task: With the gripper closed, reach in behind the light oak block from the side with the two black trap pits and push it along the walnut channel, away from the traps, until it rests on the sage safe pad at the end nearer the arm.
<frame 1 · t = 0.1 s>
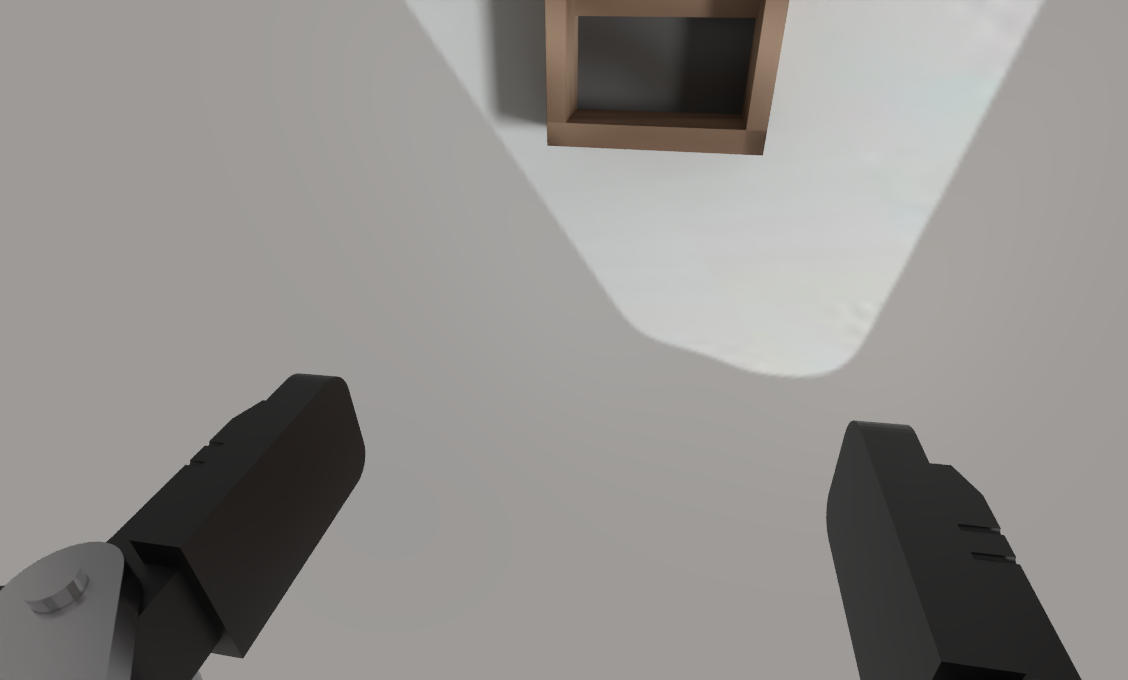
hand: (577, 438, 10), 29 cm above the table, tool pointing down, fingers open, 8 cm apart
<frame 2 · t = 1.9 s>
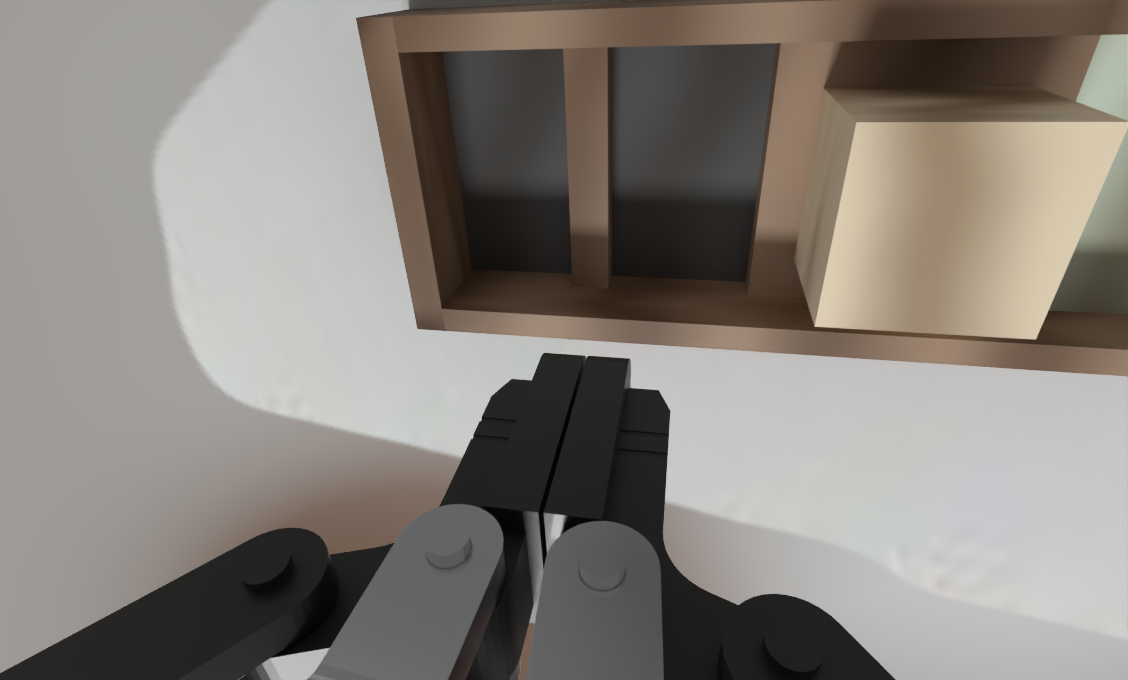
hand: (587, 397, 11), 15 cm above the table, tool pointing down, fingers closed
oak block: (901, 181, 20), point 1 cm above the table, touching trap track
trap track: (830, 168, 22), on the table
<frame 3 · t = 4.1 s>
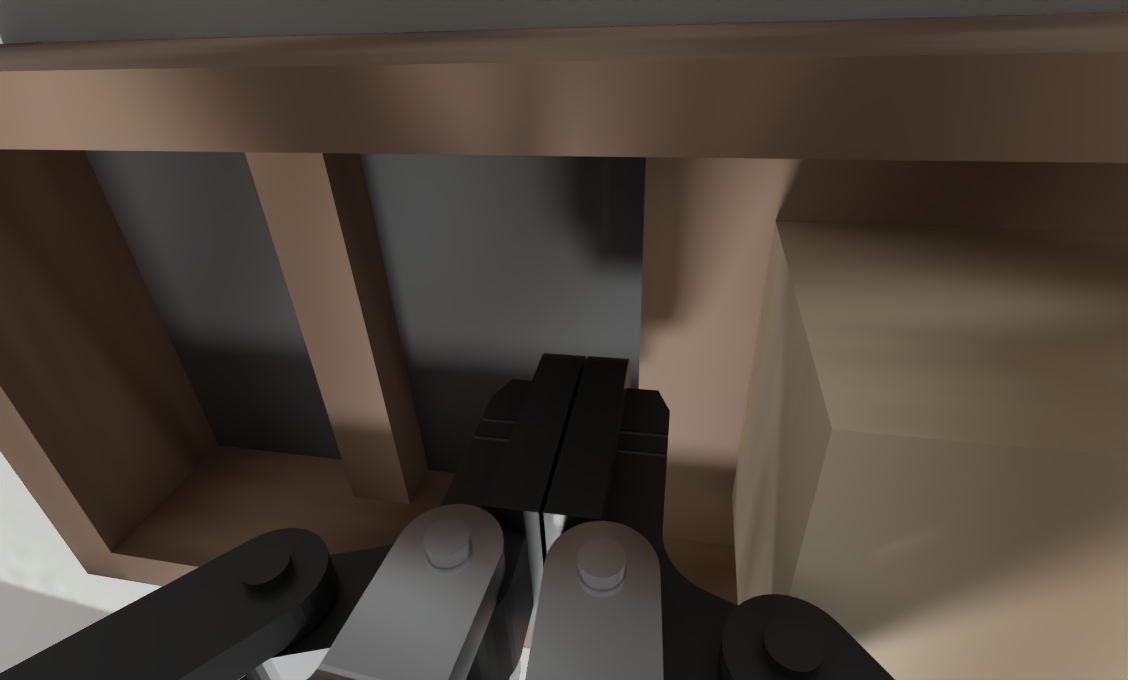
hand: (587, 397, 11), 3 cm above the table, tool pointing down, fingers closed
oak block: (930, 392, 10), point 2 cm above the table, touching gripper
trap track: (770, 334, 12), on the table
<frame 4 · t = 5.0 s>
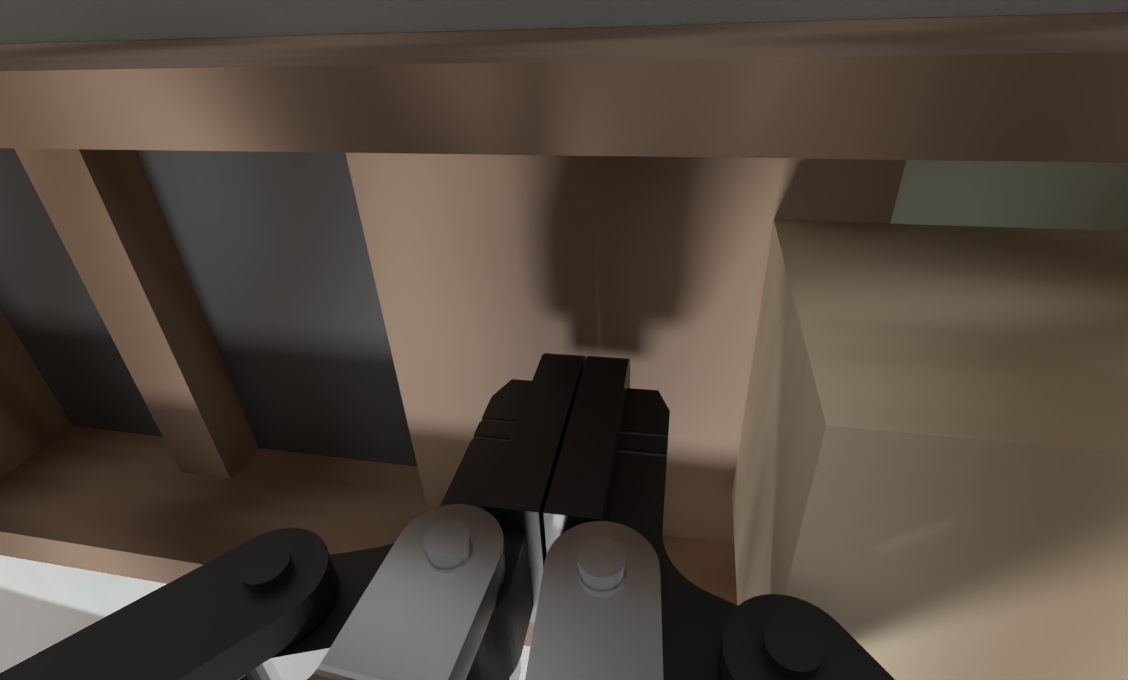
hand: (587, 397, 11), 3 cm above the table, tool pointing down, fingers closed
oak block: (929, 390, 10), point 2 cm above the table, touching gripper
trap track: (526, 318, 13), on the table
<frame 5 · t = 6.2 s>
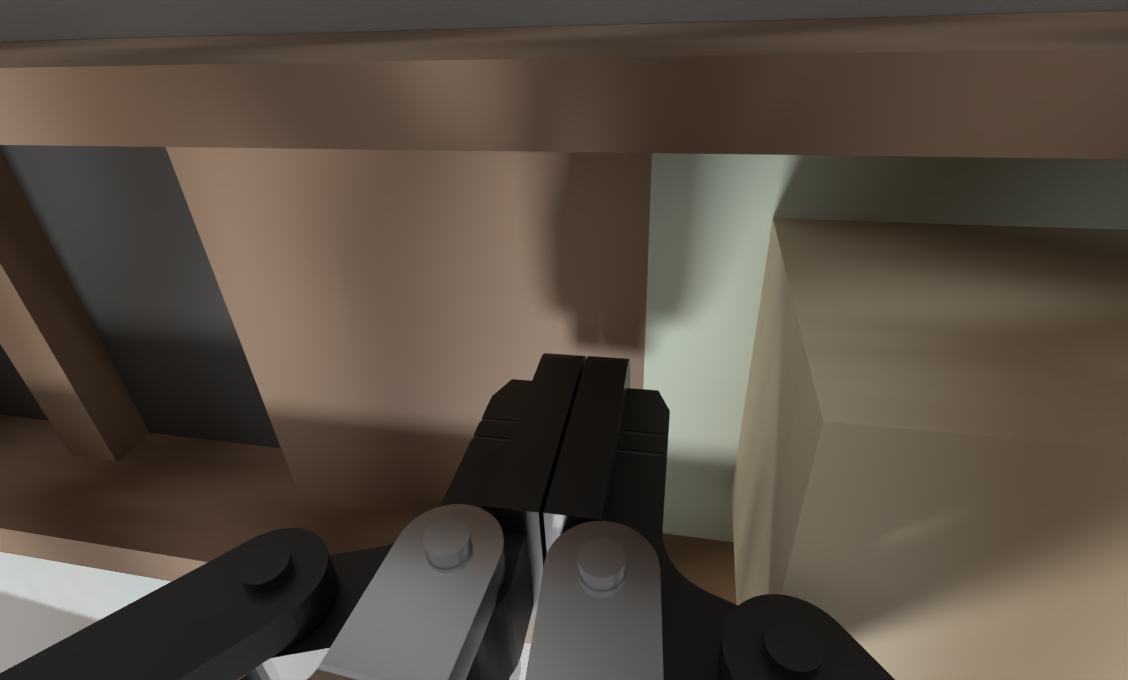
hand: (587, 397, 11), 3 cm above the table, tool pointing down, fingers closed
oak block: (928, 388, 10), point 1 cm above the table, touching gripper, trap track
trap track: (374, 305, 14), on the table
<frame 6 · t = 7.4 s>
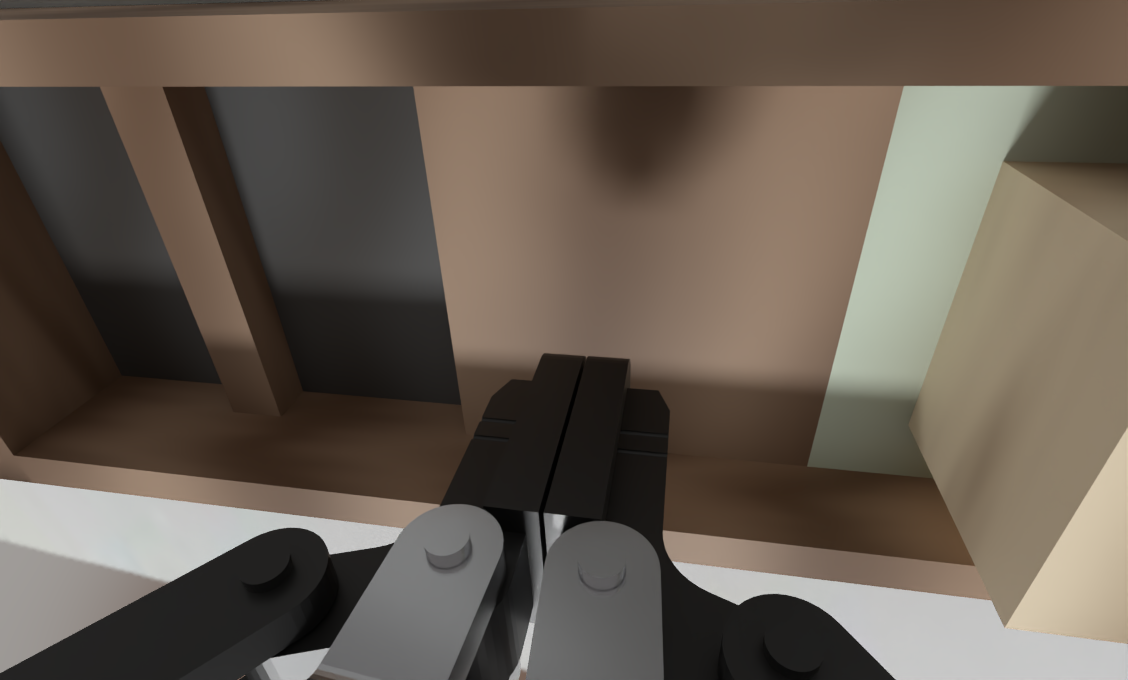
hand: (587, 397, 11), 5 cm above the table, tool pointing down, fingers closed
oak block: (1117, 319, 12), point 1 cm above the table, touching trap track
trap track: (561, 259, 15), on the table
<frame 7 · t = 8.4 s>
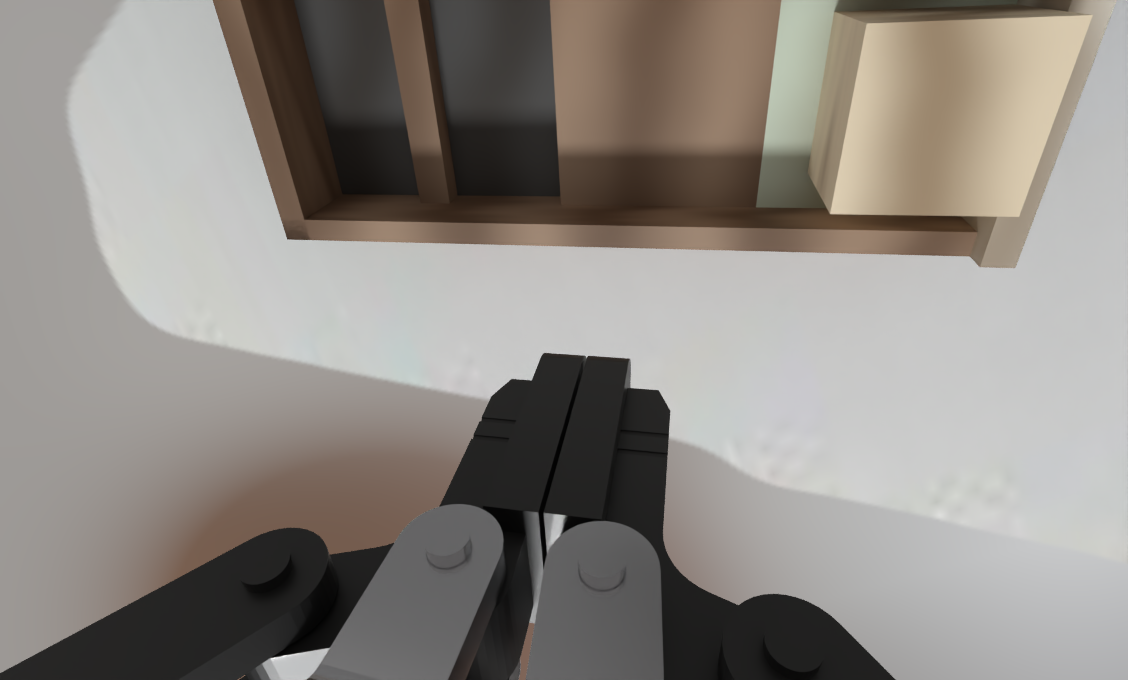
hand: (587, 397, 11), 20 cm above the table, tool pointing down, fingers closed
oak block: (901, 96, 23), point 1 cm above the table, touching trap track
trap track: (617, 93, 27), on the table
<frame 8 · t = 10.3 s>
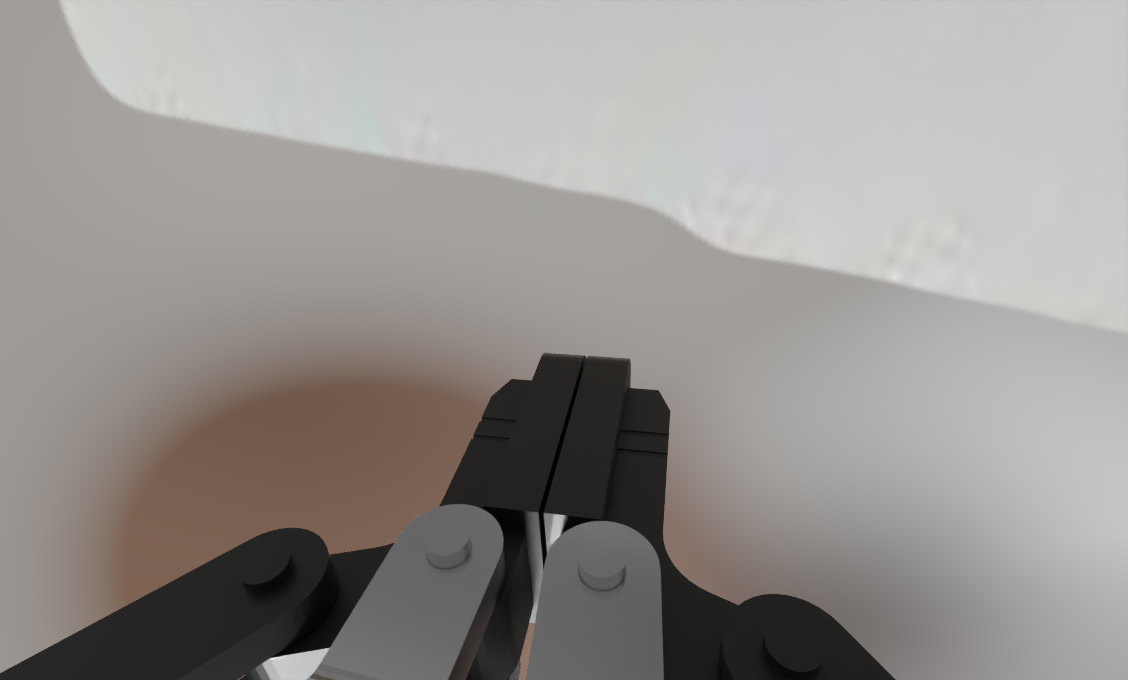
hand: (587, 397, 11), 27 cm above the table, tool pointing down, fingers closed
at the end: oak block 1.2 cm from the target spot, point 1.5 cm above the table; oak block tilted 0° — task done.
